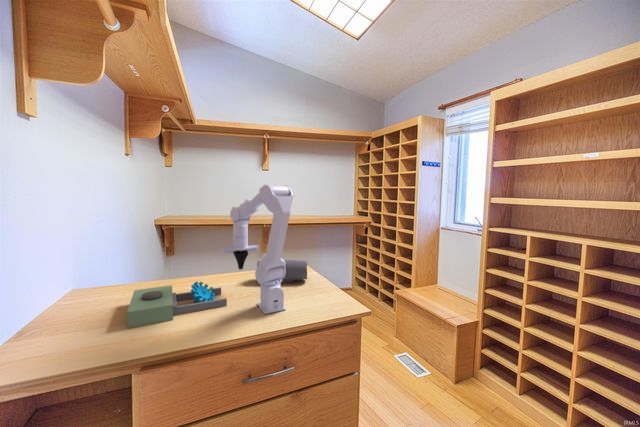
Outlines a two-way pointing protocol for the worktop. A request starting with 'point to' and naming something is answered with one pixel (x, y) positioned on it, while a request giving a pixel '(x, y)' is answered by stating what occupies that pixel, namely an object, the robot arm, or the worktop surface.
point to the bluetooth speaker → (294, 270)
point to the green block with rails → (164, 305)
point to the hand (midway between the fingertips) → (240, 268)
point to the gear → (202, 292)
